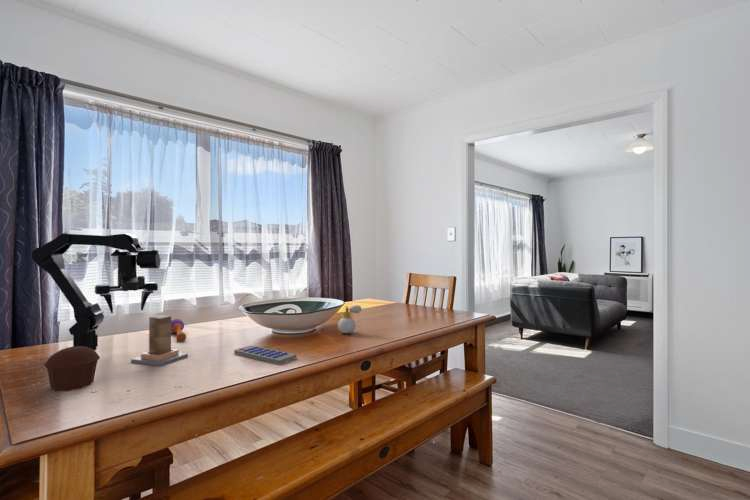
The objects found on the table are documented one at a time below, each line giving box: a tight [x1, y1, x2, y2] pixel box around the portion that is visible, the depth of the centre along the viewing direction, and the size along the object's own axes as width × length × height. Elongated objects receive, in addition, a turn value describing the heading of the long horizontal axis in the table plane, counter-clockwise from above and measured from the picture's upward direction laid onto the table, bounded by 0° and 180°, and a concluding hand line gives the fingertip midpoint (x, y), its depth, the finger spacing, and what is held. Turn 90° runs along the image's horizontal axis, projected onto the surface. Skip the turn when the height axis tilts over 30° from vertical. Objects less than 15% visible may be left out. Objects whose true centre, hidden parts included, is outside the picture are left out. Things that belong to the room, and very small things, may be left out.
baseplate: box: [130, 348, 189, 367], centre depth 127 cm, size 12×11×2 cm
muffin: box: [44, 346, 101, 392], centre depth 103 cm, size 12×11×10 cm
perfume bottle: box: [337, 304, 362, 335], centre depth 167 cm, size 8×10×12 cm
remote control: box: [233, 345, 297, 365], centre depth 132 cm, size 8×23×2 cm, turn 59°
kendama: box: [171, 318, 187, 342], centre depth 158 cm, size 6×6×20 cm
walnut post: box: [148, 314, 172, 355], centre depth 126 cm, size 4×4×13 cm
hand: (127, 311), depth 140 cm, fingers open, 9 cm apart
